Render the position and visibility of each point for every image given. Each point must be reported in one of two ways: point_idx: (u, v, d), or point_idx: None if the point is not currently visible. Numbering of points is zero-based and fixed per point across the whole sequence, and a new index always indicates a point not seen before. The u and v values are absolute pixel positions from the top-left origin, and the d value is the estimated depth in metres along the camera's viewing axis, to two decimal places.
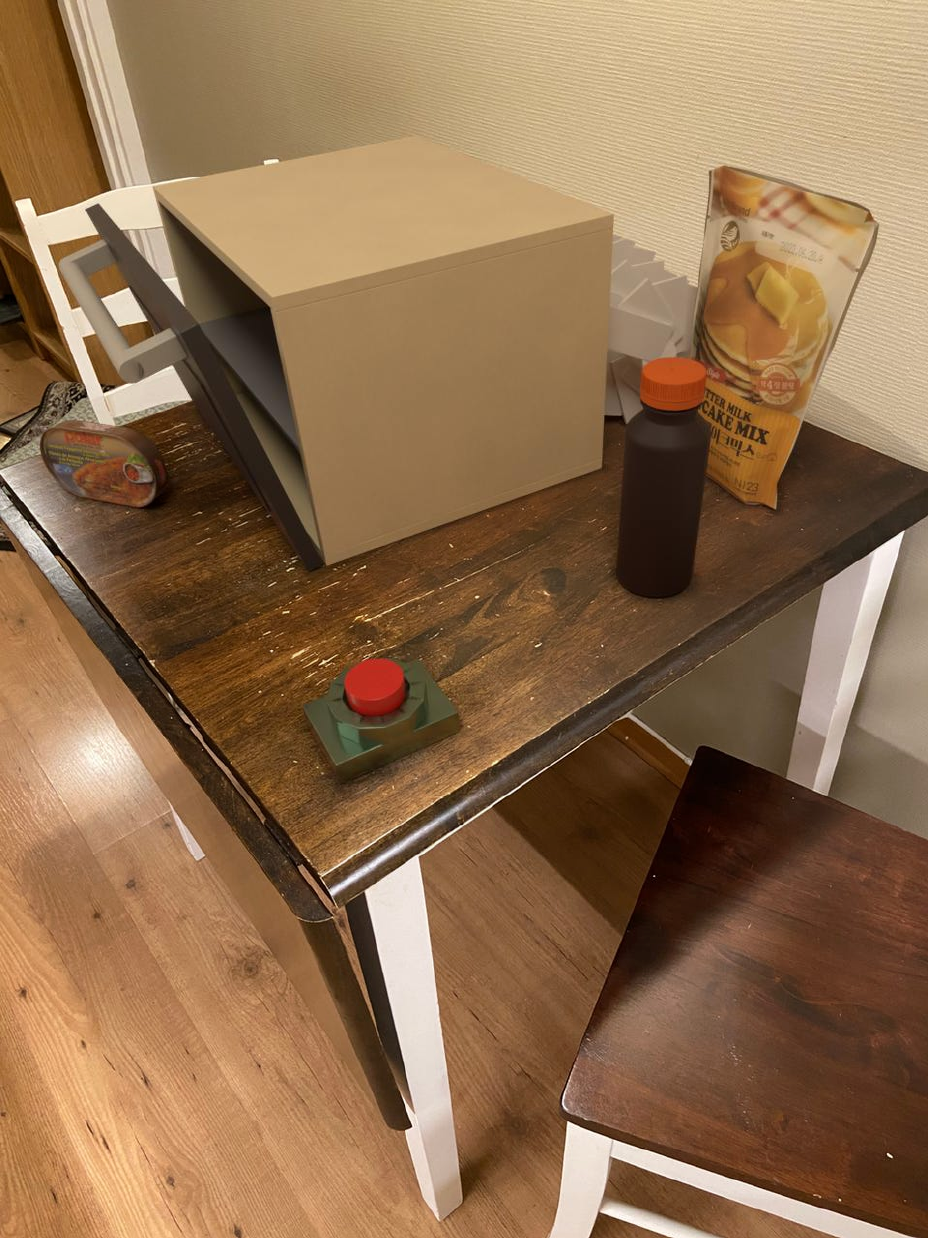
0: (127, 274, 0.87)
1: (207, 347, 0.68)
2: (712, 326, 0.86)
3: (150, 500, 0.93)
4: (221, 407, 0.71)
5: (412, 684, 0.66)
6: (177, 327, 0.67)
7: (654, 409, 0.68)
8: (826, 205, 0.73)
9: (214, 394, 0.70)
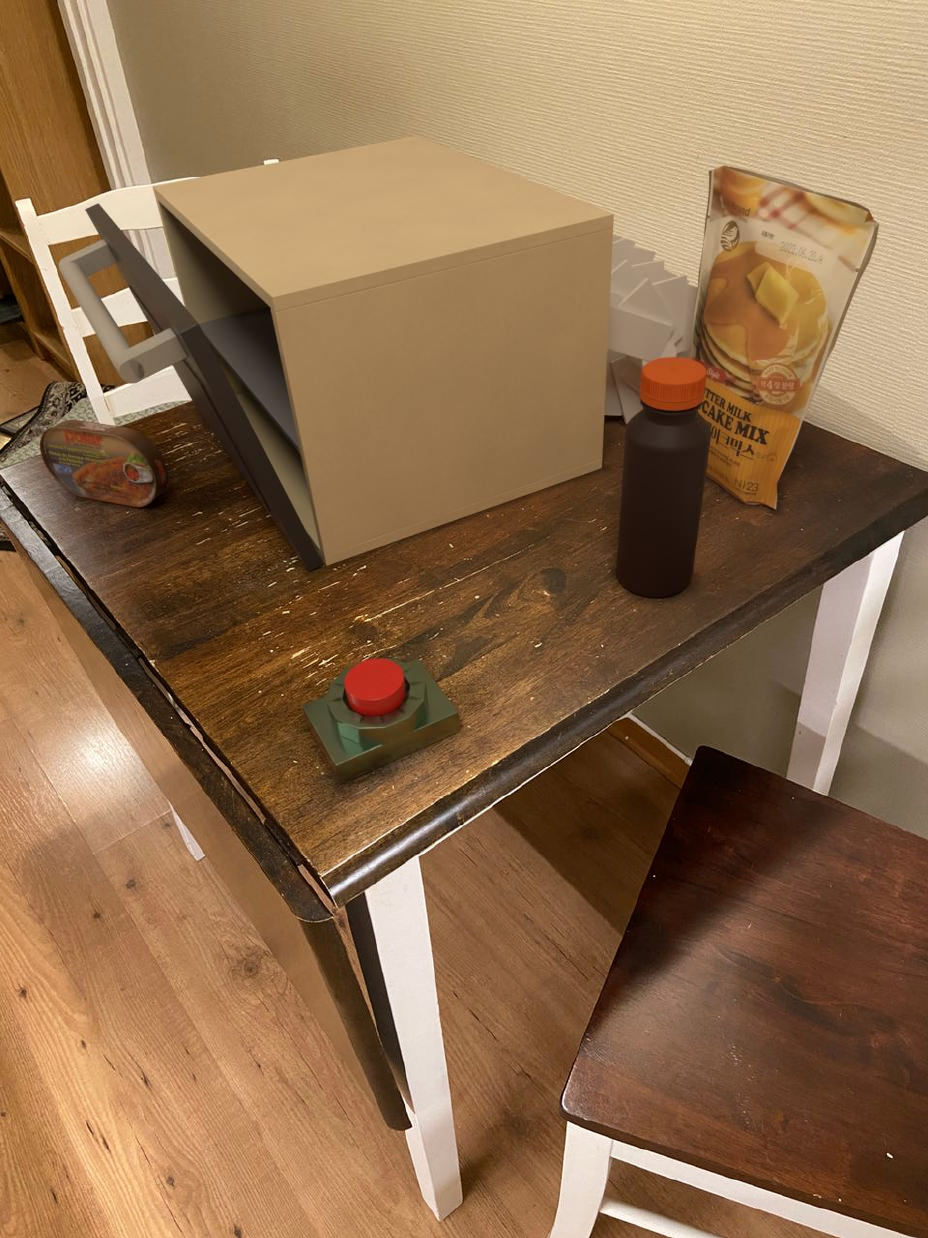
0: (127, 274, 0.87)
1: (207, 347, 0.68)
2: (712, 326, 0.86)
3: (150, 500, 0.93)
4: (221, 407, 0.71)
5: (412, 684, 0.66)
6: (177, 327, 0.67)
7: (654, 409, 0.68)
8: (826, 204, 0.73)
9: (214, 394, 0.70)
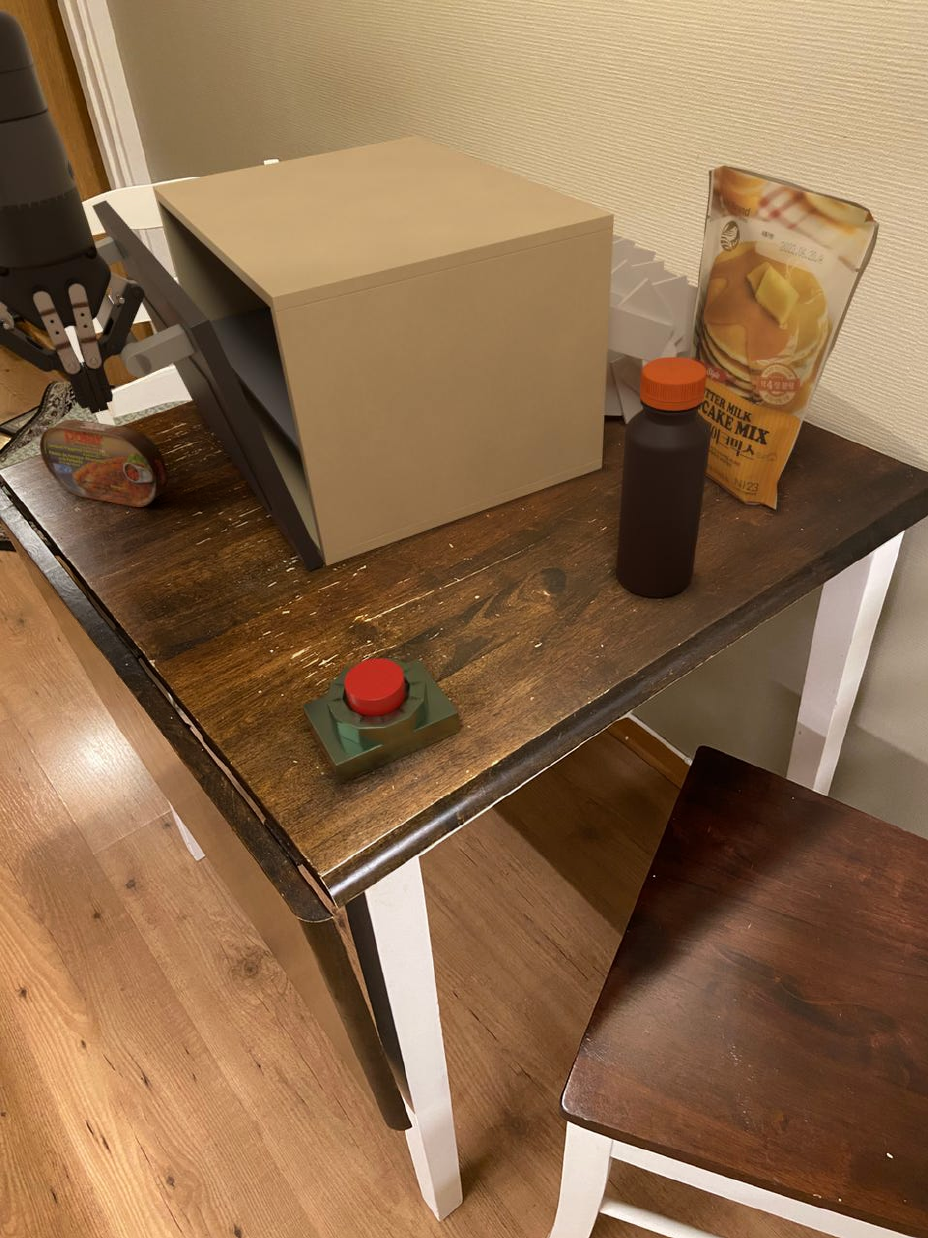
0: (134, 271, 0.87)
1: (216, 343, 0.68)
2: (712, 326, 0.86)
3: (150, 500, 0.93)
4: (228, 403, 0.71)
5: (412, 684, 0.66)
6: (187, 322, 0.67)
7: (654, 409, 0.68)
8: (826, 204, 0.73)
9: (221, 390, 0.70)
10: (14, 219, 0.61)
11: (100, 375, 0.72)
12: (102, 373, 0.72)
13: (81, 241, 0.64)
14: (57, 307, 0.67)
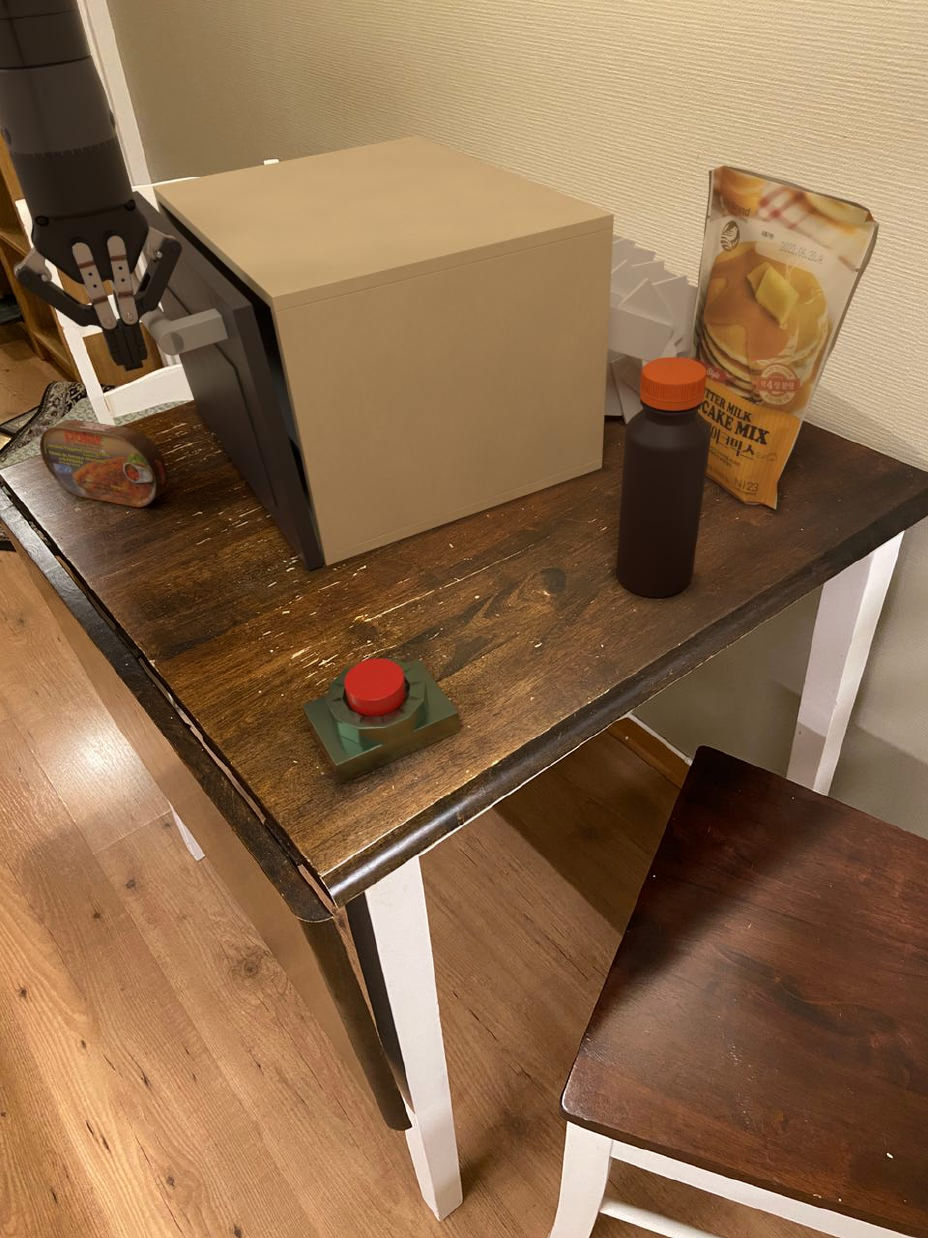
0: None
1: (255, 328, 0.69)
2: (712, 326, 0.86)
3: (150, 500, 0.93)
4: (257, 390, 0.71)
5: (412, 684, 0.66)
6: (229, 305, 0.68)
7: (654, 409, 0.68)
8: (826, 204, 0.73)
9: (253, 376, 0.71)
10: (56, 166, 0.60)
11: (135, 331, 0.72)
12: (138, 330, 0.72)
13: (121, 191, 0.64)
14: (95, 260, 0.67)
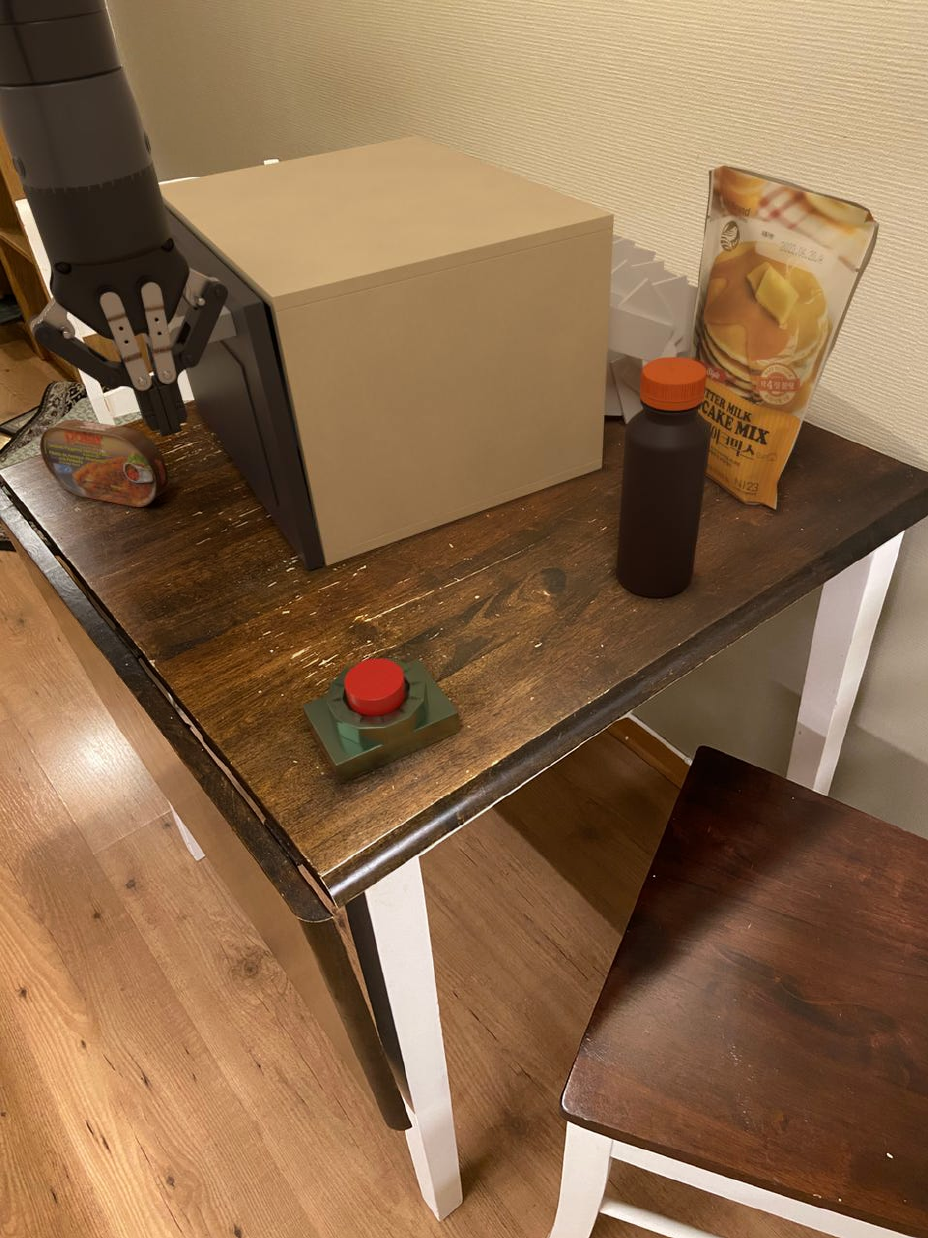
0: None
1: (265, 326, 0.69)
2: (712, 326, 0.86)
3: (150, 500, 0.93)
4: (264, 388, 0.72)
5: (412, 684, 0.66)
6: (240, 301, 0.68)
7: (654, 409, 0.68)
8: (826, 204, 0.73)
9: (261, 373, 0.71)
10: (82, 203, 0.49)
11: (173, 391, 0.60)
12: (176, 389, 0.61)
13: (159, 230, 0.53)
14: (126, 311, 0.56)
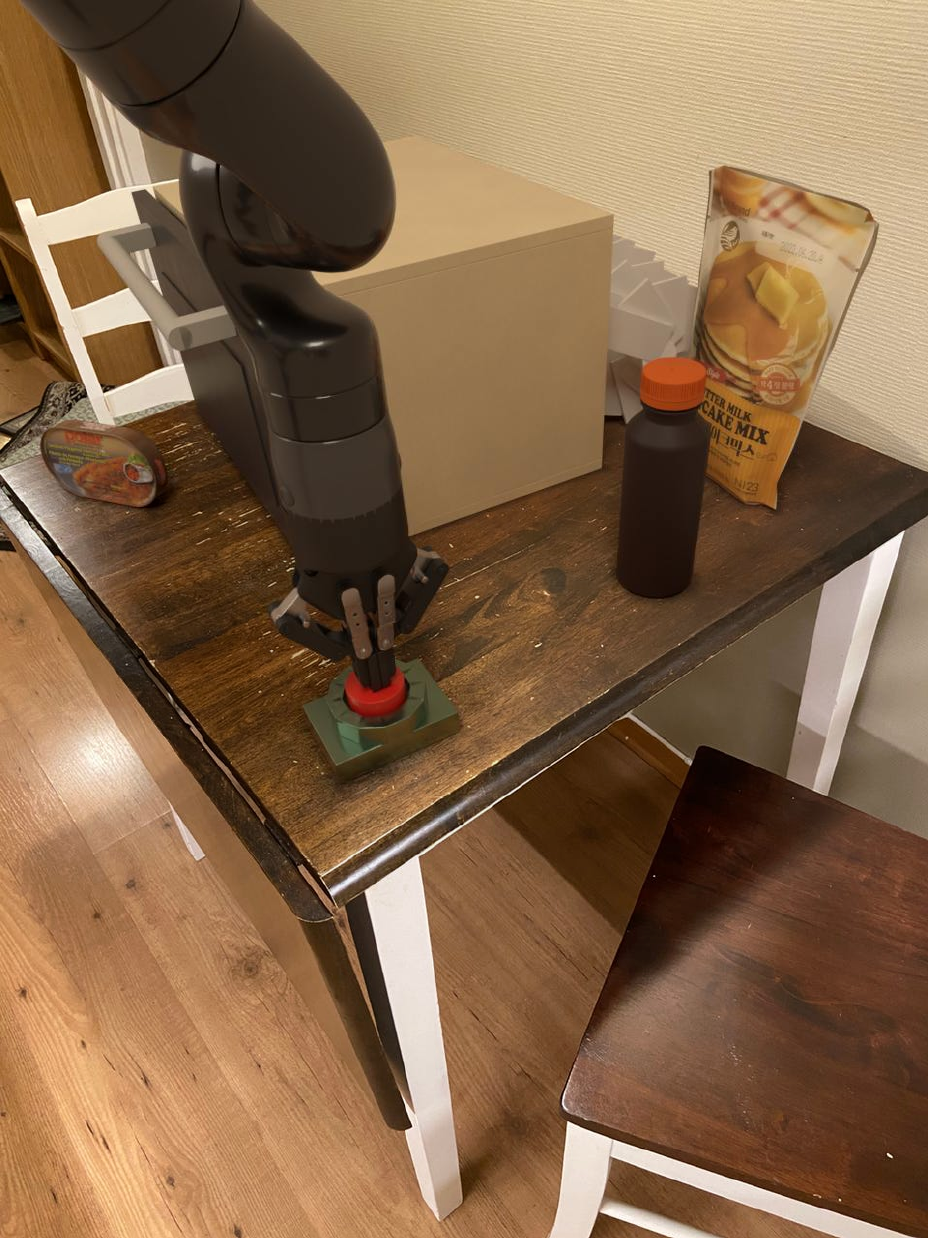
0: (169, 257, 0.88)
1: None
2: (712, 326, 0.86)
3: (150, 500, 0.93)
4: None
5: (412, 684, 0.66)
6: None
7: (654, 409, 0.68)
8: (826, 205, 0.73)
9: None
10: (345, 530, 0.52)
11: (388, 653, 0.63)
12: (390, 651, 0.63)
13: (403, 536, 0.55)
14: (359, 597, 0.58)
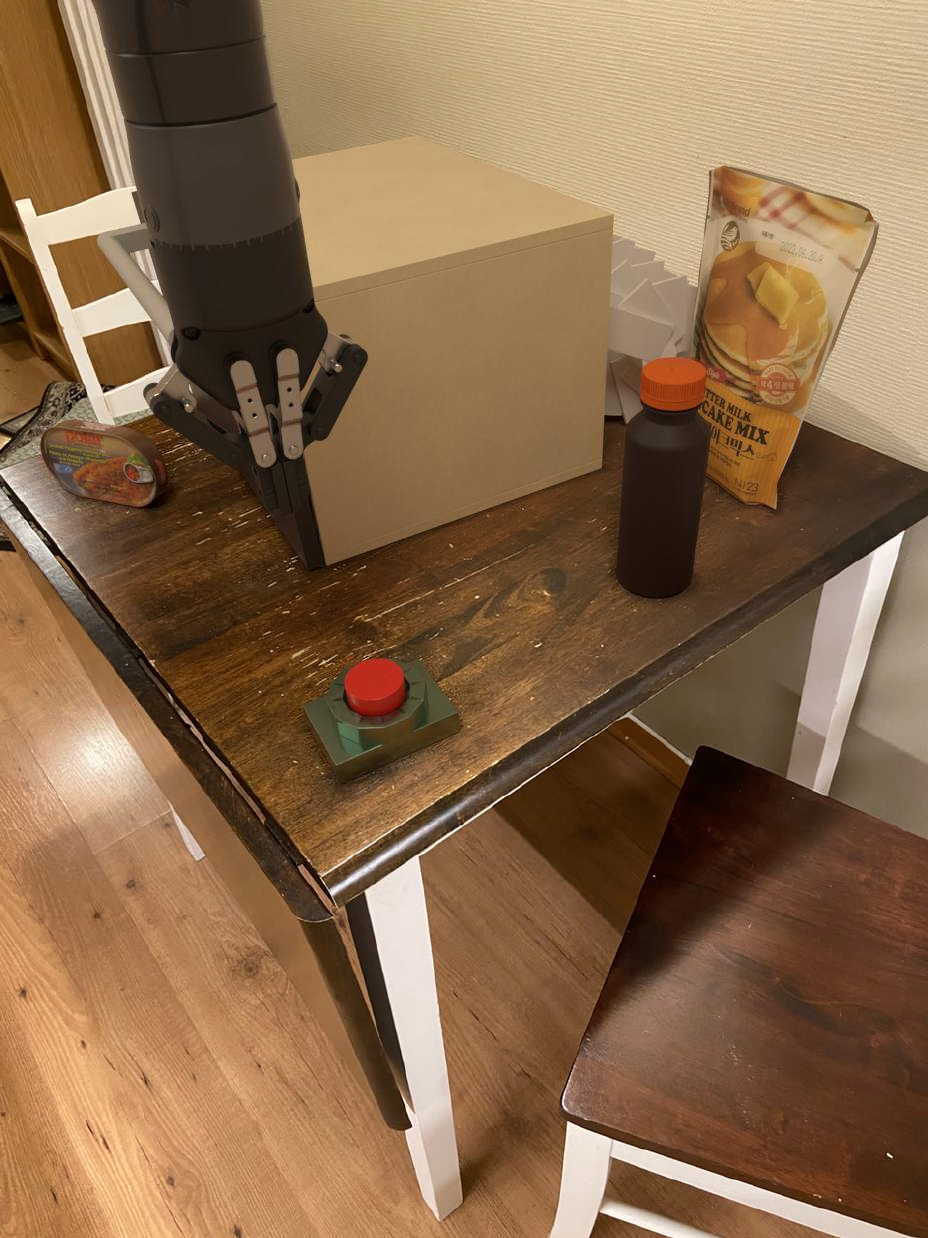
0: None
1: None
2: (712, 326, 0.86)
3: (150, 500, 0.93)
4: None
5: (412, 684, 0.66)
6: None
7: (654, 409, 0.68)
8: (826, 205, 0.73)
9: None
10: (225, 262, 0.41)
11: (297, 466, 0.53)
12: (300, 464, 0.53)
13: (304, 291, 0.45)
14: (256, 380, 0.48)
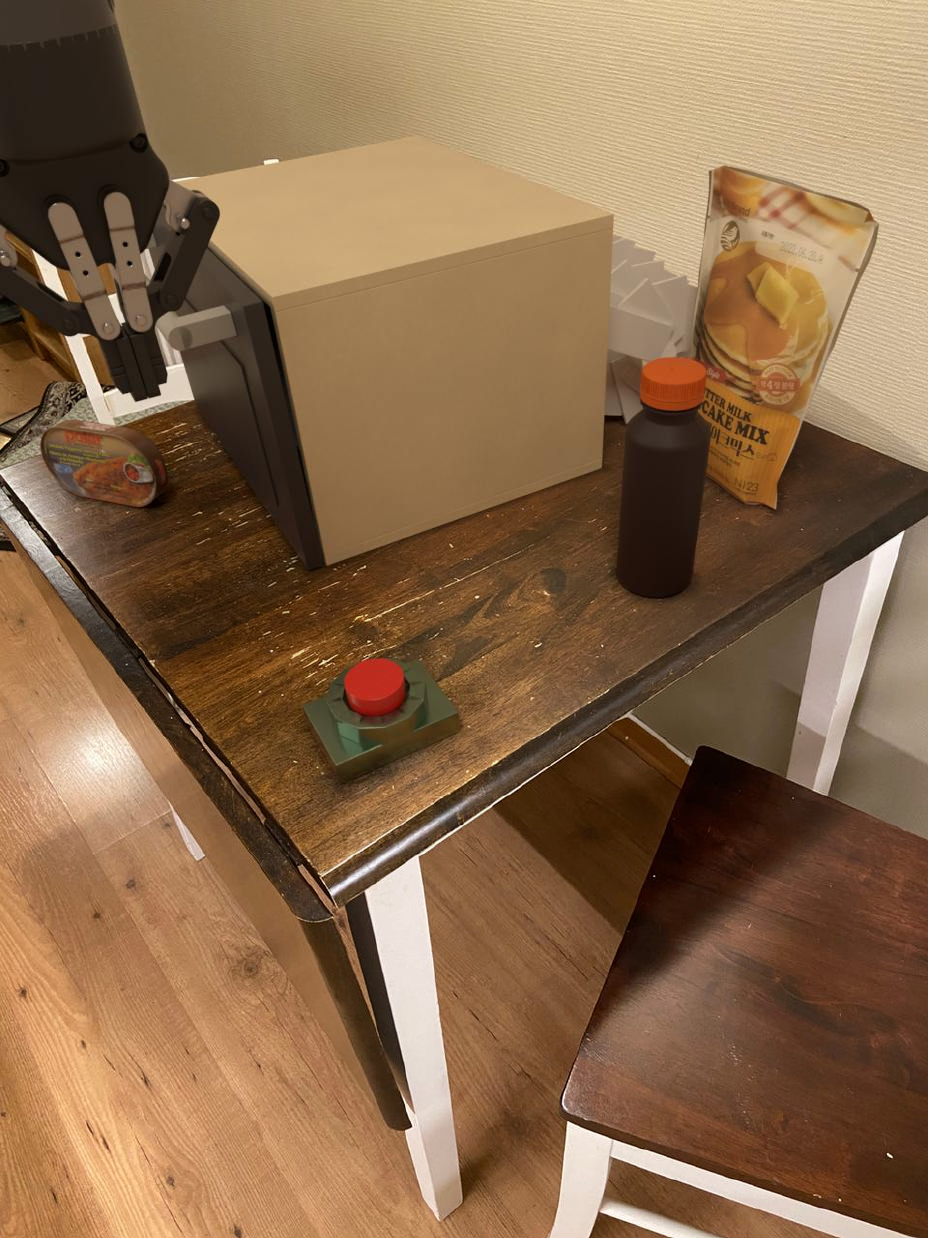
0: None
1: (265, 326, 0.69)
2: (712, 326, 0.86)
3: (150, 500, 0.93)
4: (264, 388, 0.72)
5: (412, 684, 0.66)
6: (240, 301, 0.68)
7: (654, 409, 0.68)
8: (826, 204, 0.73)
9: (261, 373, 0.71)
10: (16, 69, 0.36)
11: (149, 342, 0.47)
12: (153, 340, 0.47)
13: (126, 118, 0.39)
14: (85, 231, 0.42)
